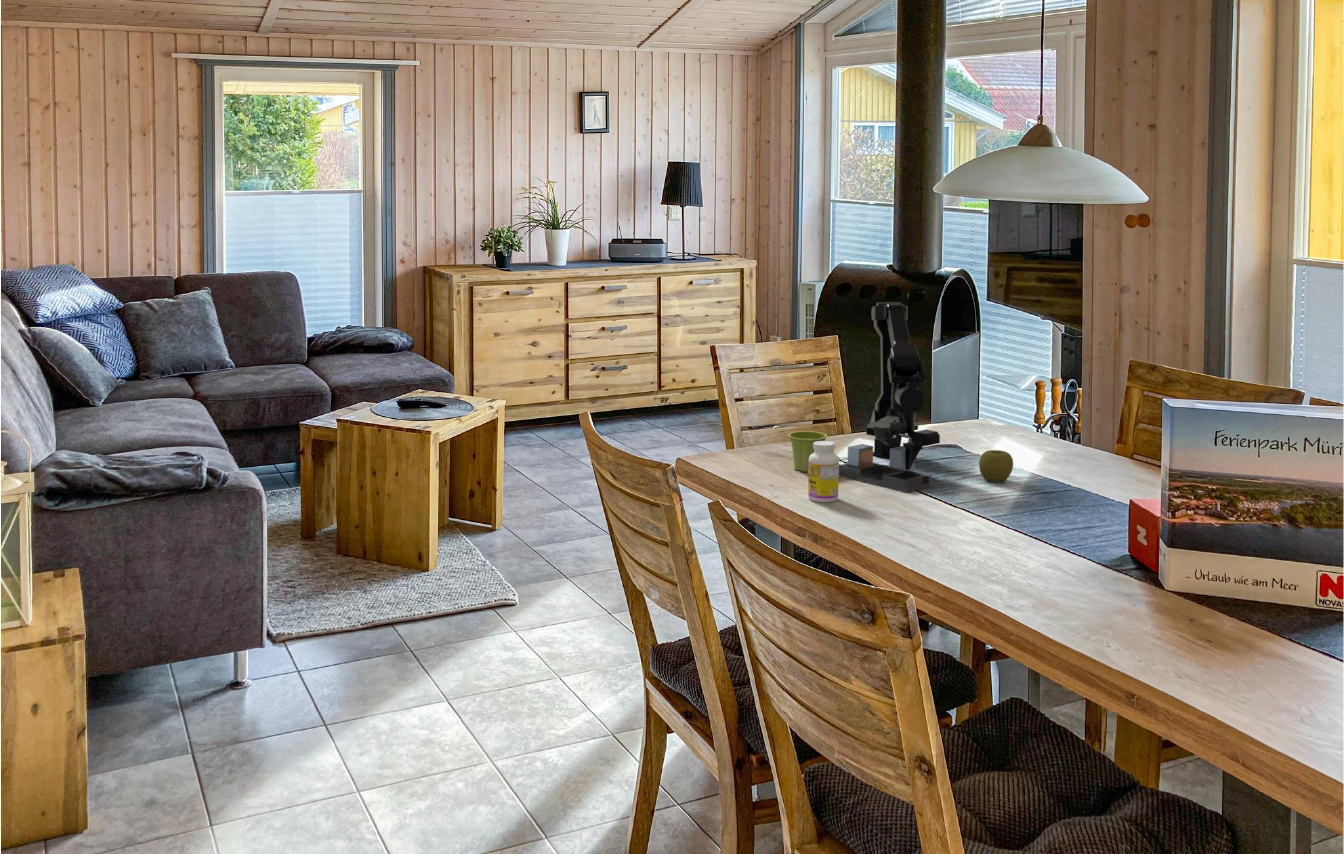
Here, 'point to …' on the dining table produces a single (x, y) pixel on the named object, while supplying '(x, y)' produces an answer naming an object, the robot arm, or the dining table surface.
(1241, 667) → the dining table surface
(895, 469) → the rail
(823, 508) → the dining table surface
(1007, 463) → the apple
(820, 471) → the supplement bottle
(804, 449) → the plant pot
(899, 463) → the block
